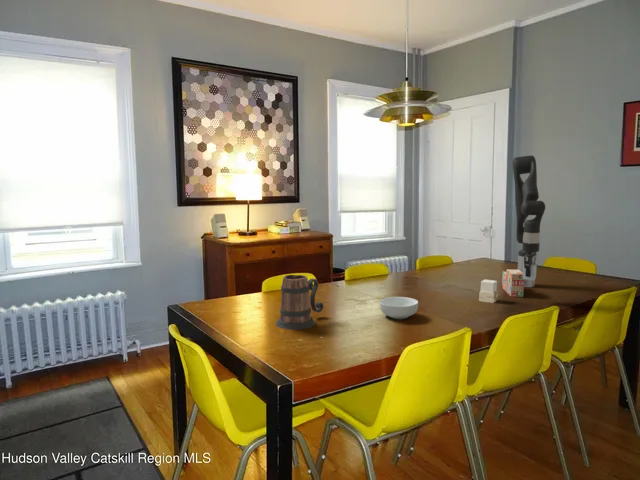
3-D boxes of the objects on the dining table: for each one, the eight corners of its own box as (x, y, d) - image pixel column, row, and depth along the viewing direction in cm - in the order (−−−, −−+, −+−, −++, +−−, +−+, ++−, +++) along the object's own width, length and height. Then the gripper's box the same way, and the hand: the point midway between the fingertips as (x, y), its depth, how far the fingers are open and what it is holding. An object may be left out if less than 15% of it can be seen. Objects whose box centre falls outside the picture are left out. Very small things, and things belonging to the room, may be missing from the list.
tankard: (292, 332, 179) (292, 283, 177) (267, 322, 192) (266, 276, 189) (335, 320, 195) (335, 274, 193) (309, 312, 208) (309, 269, 205)
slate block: (525, 276, 227) (525, 263, 226) (535, 278, 224) (536, 264, 223) (522, 278, 223) (523, 264, 222) (533, 280, 220) (534, 265, 219)
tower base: (483, 298, 232) (483, 288, 231) (497, 300, 228) (498, 290, 227) (478, 301, 226) (479, 291, 226) (493, 303, 222) (493, 293, 222)
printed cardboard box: (501, 287, 255) (502, 266, 254) (513, 287, 254) (514, 266, 253) (510, 296, 235) (512, 273, 233) (523, 297, 233) (525, 273, 232)
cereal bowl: (391, 309, 212) (392, 294, 211) (424, 315, 202) (424, 300, 201) (372, 317, 199) (372, 301, 198) (405, 325, 189) (406, 308, 188)
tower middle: (484, 289, 231) (484, 279, 230) (496, 290, 227) (497, 280, 226) (480, 291, 226) (480, 281, 225) (492, 293, 222) (493, 283, 222)
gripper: (526, 239, 229) (525, 272, 231) (519, 242, 218) (517, 277, 220) (543, 240, 224) (541, 274, 227) (535, 244, 213) (533, 279, 216)
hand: (529, 275), depth 223 cm, fingers closed on slate block, 5 cm apart
